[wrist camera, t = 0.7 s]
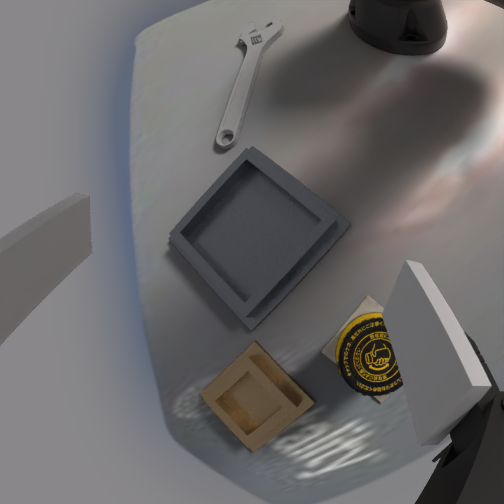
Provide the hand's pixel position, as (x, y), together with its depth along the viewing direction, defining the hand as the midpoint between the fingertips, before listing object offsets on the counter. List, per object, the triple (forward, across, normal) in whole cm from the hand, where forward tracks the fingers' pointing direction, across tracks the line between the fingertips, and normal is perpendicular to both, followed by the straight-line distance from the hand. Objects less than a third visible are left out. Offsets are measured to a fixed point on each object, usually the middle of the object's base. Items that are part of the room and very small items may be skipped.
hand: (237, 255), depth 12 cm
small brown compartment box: (+10, +4, -22) cm, 25 cm away
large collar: (+22, 0, -8) cm, 23 cm away
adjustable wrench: (+37, -6, +9) cm, 39 cm away
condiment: (+12, +14, -14) cm, 23 cm away
